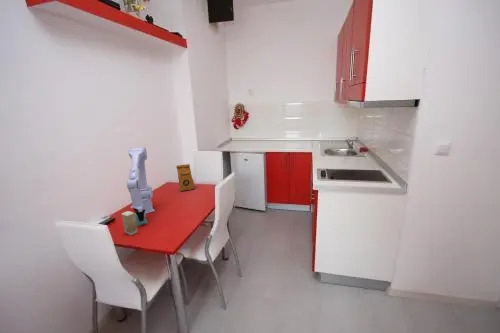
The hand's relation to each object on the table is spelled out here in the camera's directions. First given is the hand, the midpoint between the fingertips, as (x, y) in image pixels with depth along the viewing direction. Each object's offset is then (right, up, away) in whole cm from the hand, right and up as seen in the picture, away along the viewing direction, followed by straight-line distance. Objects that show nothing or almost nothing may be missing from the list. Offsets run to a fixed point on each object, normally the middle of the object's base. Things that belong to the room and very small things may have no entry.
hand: (140, 218), depth 149 cm
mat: (0, -3, +1) cm, 3 cm away
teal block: (0, -2, +1) cm, 2 cm away
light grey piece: (-2, -3, 0) cm, 4 cm away
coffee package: (+14, +12, +57) cm, 60 cm away
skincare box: (0, -6, -11) cm, 12 cm away
